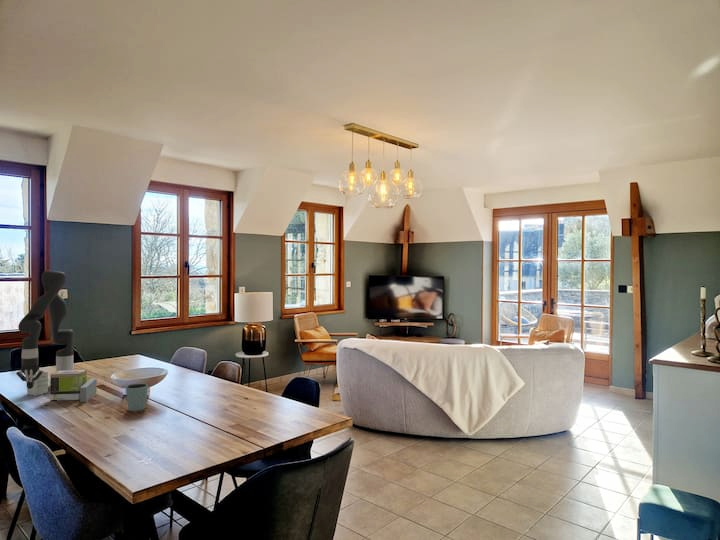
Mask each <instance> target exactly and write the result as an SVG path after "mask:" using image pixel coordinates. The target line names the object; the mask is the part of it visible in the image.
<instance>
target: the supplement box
mask: <svg viewBox="0 0 720 540" xmlns="http://www.w3.org/2000/svg"><path fill="white" fill-rule="evenodd" d="M43 371H44V372H43V373H42V374H41V376H40V377H39V378H38V379H37V380H35V381H34V386H33V387H32V389H28V388H27V387H26V390H27V392H26V395H28V396H29V395H31V396H35V397H37V396H41V395H45V394H44V393H46V394H48V393H47V392H49V371H46V370H43ZM37 375H38V371H37V372H36V374H35V376H34V378H35V377H36V376H37ZM40 394H41V395H40ZM36 395H37V396H36Z"/></svg>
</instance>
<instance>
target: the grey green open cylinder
mask: <svg viewBox="0 0 720 540" xmlns="http://www.w3.org/2000/svg"><path fill="white" fill-rule="evenodd" d="M148 386H149V385H148V384H147V383H142V382H140V383H139V382H138V383H133V384H129V385H126V386H125V392H126V402H127V410H128V411H129V412H140V411H139V410H141V411H144V410H146V409H147V398H148V397H147V396H148ZM145 408H146V409H145Z"/></svg>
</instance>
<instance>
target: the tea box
mask: <svg viewBox="0 0 720 540" xmlns="http://www.w3.org/2000/svg"><path fill="white" fill-rule="evenodd" d="M49 377H50V380H49V381H50V382H49V384H50V394H49V395H50V401H51V400H57V401H80V387H81V386H83V385H84V384H85V383H86V382H87V381H88V379H87V377H88V375H87V370H86V369H79V370H77V369H76V370H74V369H73V370H69V371H57V372H56V371H55V372H53V373H50V376H49Z"/></svg>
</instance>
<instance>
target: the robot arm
mask: <svg viewBox="0 0 720 540" xmlns="http://www.w3.org/2000/svg"><path fill="white" fill-rule="evenodd" d="M66 281H67V275H66V273H65V272H62V271H59V270H58V271H57V270H49V269H47V270H44V271H43V272H42V275H41V283H42V286H43V289H44V294H43V295H41V296H40V297H38V298H37V299H36V300H35V301H34V303H33V305H32V306H31V308H30V310H29V311H28V312H27V314H26V315H24V317H22V319H21V320H20V322H19V323H18V325H17V326H18V331H19V332H20V333H23V334H29V335H28V337H24V338H23V339H22V341H21V344H22V345H21V367H20V369H19V370H18V371H17V372H16V373H15V374H16V375H17V377H18V378H19V379H20V380H21V381H22V382H25V383H26V389H27V388H28V389H32V387H33V386H34V381H35V380H37V379H38V378H39V377H40V376H41V374H42V373H43V372H44V371H45V370H42V369H40V367H39V348H38V345H39V344H38V343H39V338H40V335H41V331H42V323H41V322H40V321H39V320H40V319H42V318H44V316H45V314H46V312H47V311H48V312H49V318H50V321H51V327H52V328H51V329H52V340H53V343H54V344H55V345H58V346H59V345H66V346H65V347H64V348H62V349H59V350H56V353H55V363H56V364H55V372H57V371H69V370H74V350H75V348H74V347H75V331H74V330H73V329H71V328H70V329H60V326H61V325H62V322H63V321H64V319H65V318H66V317H67V314H68V307H67V302H66V301H65V299H64V298H63V296H61V295H60V291H61V290H62V288H63V287H64V285H65V284H66ZM37 371H38V375H37V376H36V377H35V378H34V376H35V374H36V372H37Z"/></svg>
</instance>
